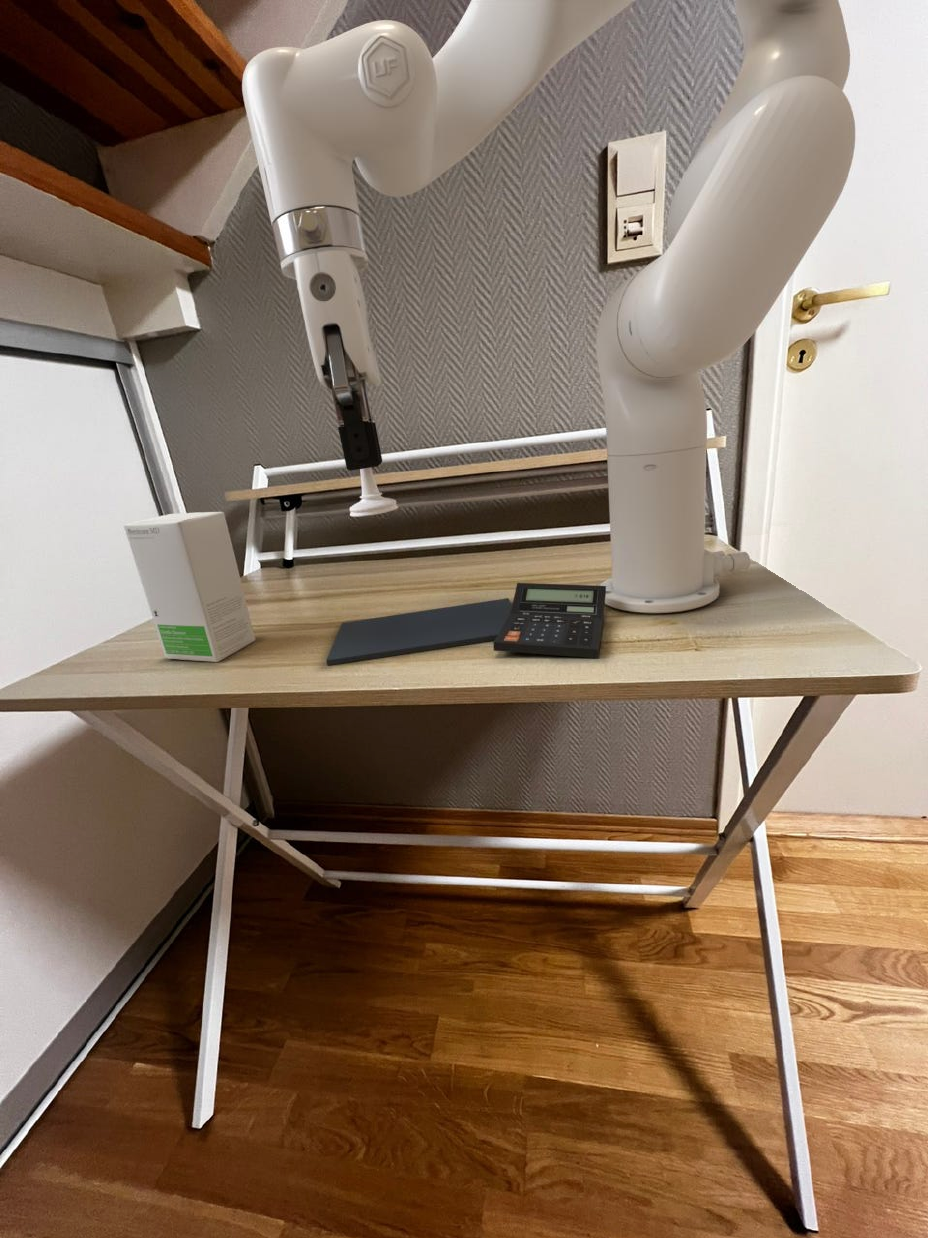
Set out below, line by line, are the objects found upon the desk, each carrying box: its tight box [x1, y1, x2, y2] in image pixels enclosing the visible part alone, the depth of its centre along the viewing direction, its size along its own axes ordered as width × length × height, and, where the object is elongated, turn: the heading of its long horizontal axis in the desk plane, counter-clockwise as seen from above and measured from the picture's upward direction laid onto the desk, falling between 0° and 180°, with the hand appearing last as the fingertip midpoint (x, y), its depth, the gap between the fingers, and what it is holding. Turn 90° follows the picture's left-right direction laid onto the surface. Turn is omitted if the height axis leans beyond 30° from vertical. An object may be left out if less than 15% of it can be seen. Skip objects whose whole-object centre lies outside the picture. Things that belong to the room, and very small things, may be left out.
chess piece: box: [348, 467, 399, 518], centre depth 52 cm, size 5×5×10 cm
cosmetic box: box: [123, 511, 256, 663], centre depth 60 cm, size 8×7×16 cm
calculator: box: [492, 582, 606, 659], centre depth 53 cm, size 9×12×3 cm
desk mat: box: [325, 597, 512, 666], centre depth 59 cm, size 20×11×1 cm, turn 94°
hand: (365, 465), depth 53 cm, fingers closed on chess piece
